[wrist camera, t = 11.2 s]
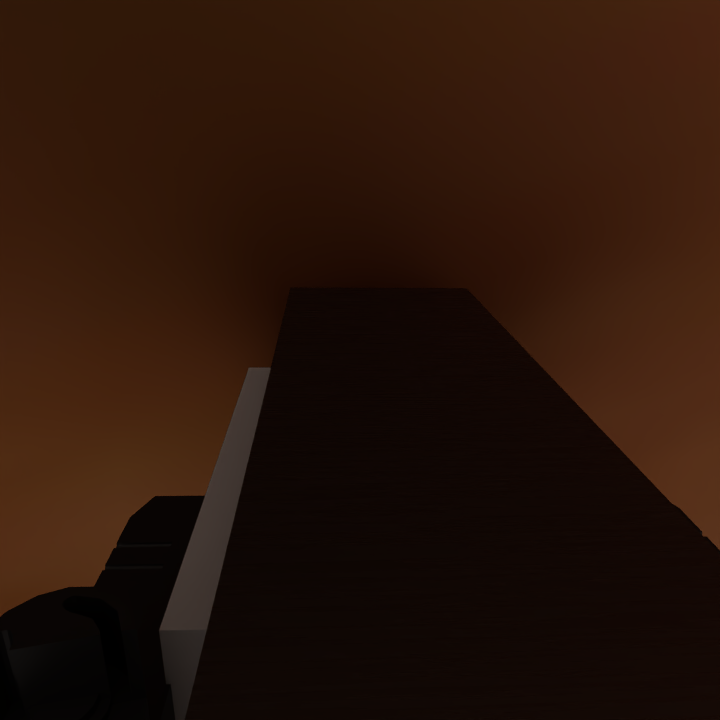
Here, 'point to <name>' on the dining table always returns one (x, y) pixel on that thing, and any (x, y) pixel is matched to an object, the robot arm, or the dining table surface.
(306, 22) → the dining table surface
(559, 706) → the hook tool
